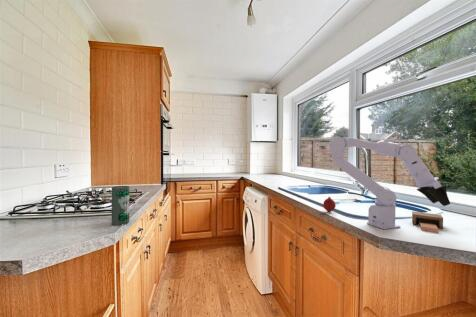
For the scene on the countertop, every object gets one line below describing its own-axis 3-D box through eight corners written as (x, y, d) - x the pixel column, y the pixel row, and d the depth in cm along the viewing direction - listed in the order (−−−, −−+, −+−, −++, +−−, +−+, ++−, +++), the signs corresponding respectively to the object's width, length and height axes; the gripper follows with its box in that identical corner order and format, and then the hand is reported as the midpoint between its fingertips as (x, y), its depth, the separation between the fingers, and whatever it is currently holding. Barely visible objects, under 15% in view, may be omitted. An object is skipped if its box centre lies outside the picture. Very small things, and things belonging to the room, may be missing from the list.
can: (124, 225, 87) (124, 188, 87) (108, 225, 87) (109, 188, 87) (131, 220, 93) (131, 185, 93) (116, 220, 93) (116, 185, 93)
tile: (438, 234, 83) (438, 228, 83) (420, 231, 86) (421, 226, 86) (435, 229, 88) (436, 224, 88) (419, 227, 91) (419, 222, 91)
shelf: (442, 228, 88) (443, 218, 88) (412, 224, 93) (412, 214, 93) (440, 225, 93) (440, 214, 92) (412, 220, 98) (412, 211, 98)
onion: (336, 214, 109) (336, 198, 108) (324, 213, 110) (324, 197, 110) (333, 211, 114) (334, 195, 114) (322, 210, 115) (322, 195, 115)
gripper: (439, 166, 78) (465, 201, 75) (421, 167, 92) (442, 196, 89) (419, 175, 80) (442, 209, 77) (404, 175, 94) (424, 204, 91)
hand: (441, 203), depth 83 cm, fingers open, 7 cm apart
